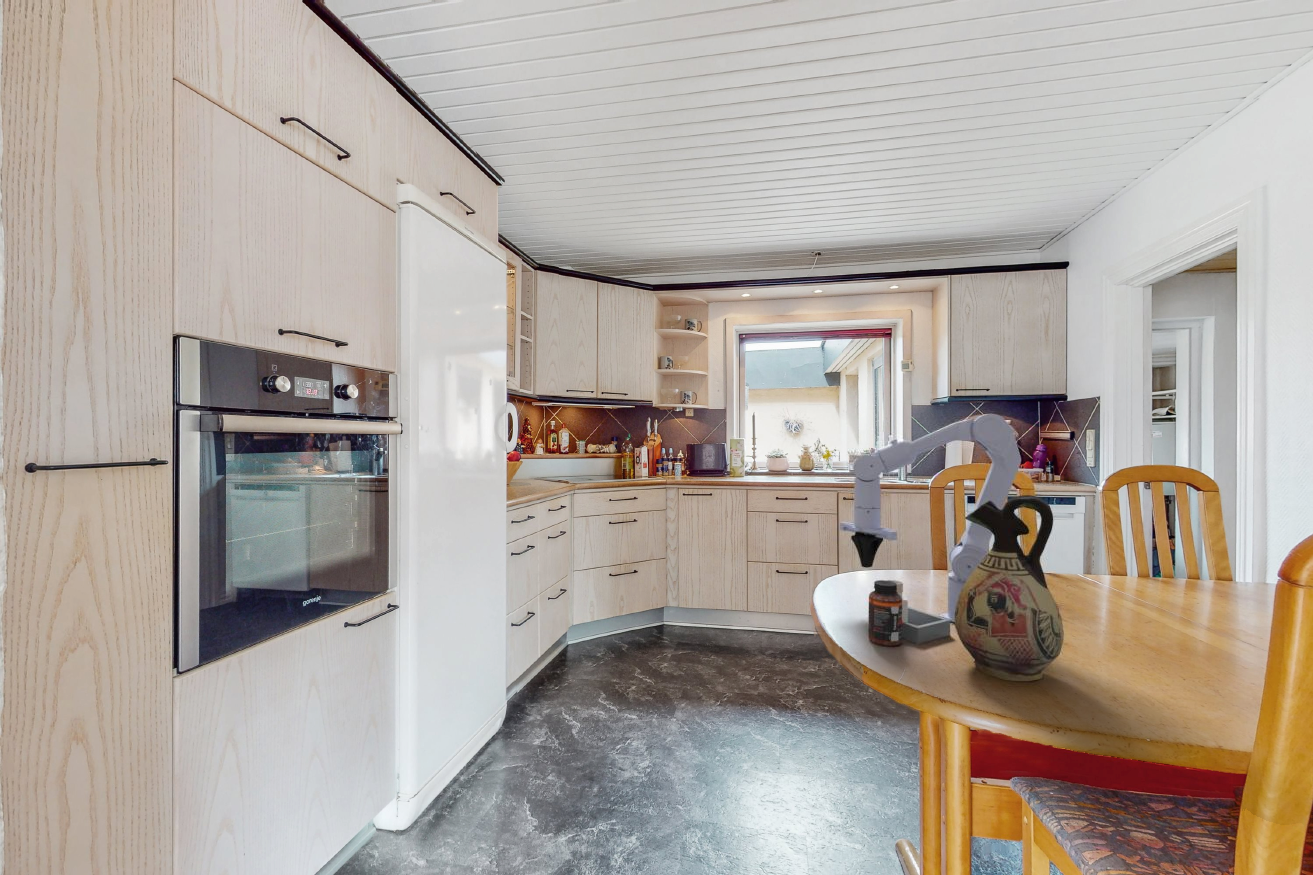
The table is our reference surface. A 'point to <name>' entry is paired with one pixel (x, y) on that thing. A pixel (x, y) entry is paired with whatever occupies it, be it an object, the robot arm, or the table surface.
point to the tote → (924, 626)
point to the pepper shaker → (904, 601)
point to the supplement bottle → (885, 614)
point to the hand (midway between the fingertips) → (866, 566)
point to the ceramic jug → (1010, 598)
